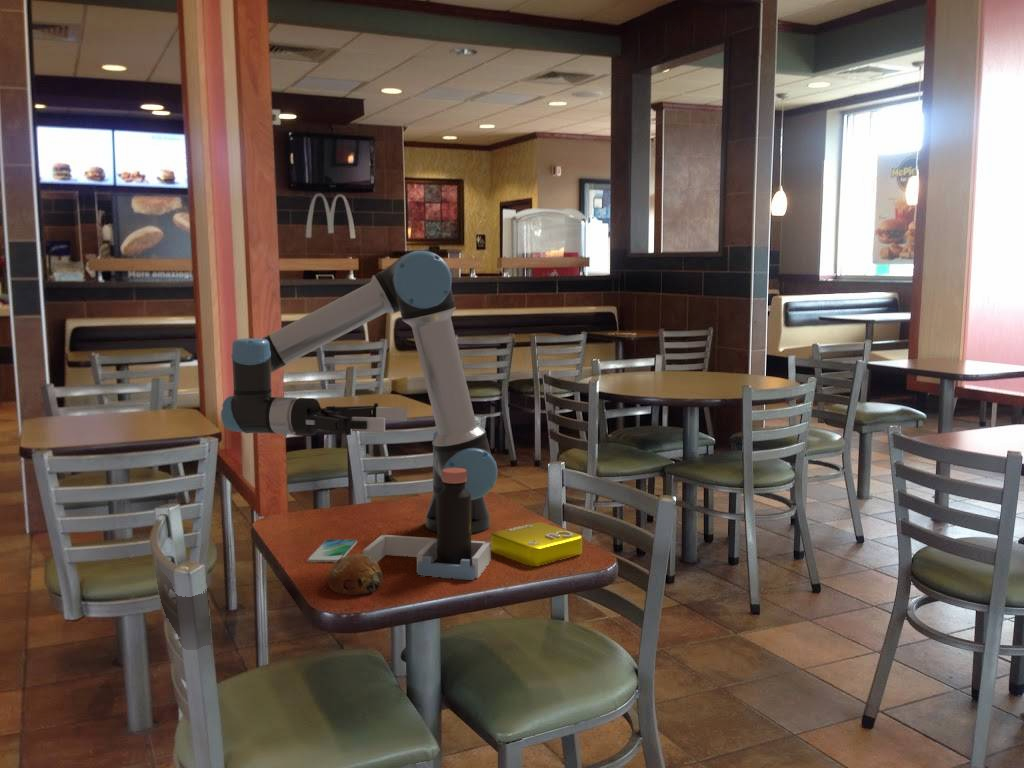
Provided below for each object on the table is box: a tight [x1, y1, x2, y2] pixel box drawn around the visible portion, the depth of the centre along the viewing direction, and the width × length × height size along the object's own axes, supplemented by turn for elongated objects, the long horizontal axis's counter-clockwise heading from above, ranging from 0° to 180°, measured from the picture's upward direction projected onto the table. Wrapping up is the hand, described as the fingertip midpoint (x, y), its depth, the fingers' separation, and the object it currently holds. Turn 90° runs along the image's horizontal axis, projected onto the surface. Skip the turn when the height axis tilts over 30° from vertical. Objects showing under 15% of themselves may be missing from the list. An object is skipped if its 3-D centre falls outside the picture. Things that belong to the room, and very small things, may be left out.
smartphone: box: [306, 538, 358, 564], centre depth 190 cm, size 7×1×15 cm
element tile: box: [490, 521, 583, 567], centre depth 190 cm, size 15×15×5 cm
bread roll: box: [327, 553, 384, 596], centre depth 168 cm, size 10×10×8 cm
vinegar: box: [436, 468, 472, 566], centre depth 179 cm, size 7×7×20 cm
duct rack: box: [362, 534, 492, 581], centre depth 180 cm, size 12×24×4 cm, turn 78°
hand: (396, 419), depth 178 cm, fingers open, 13 cm apart
